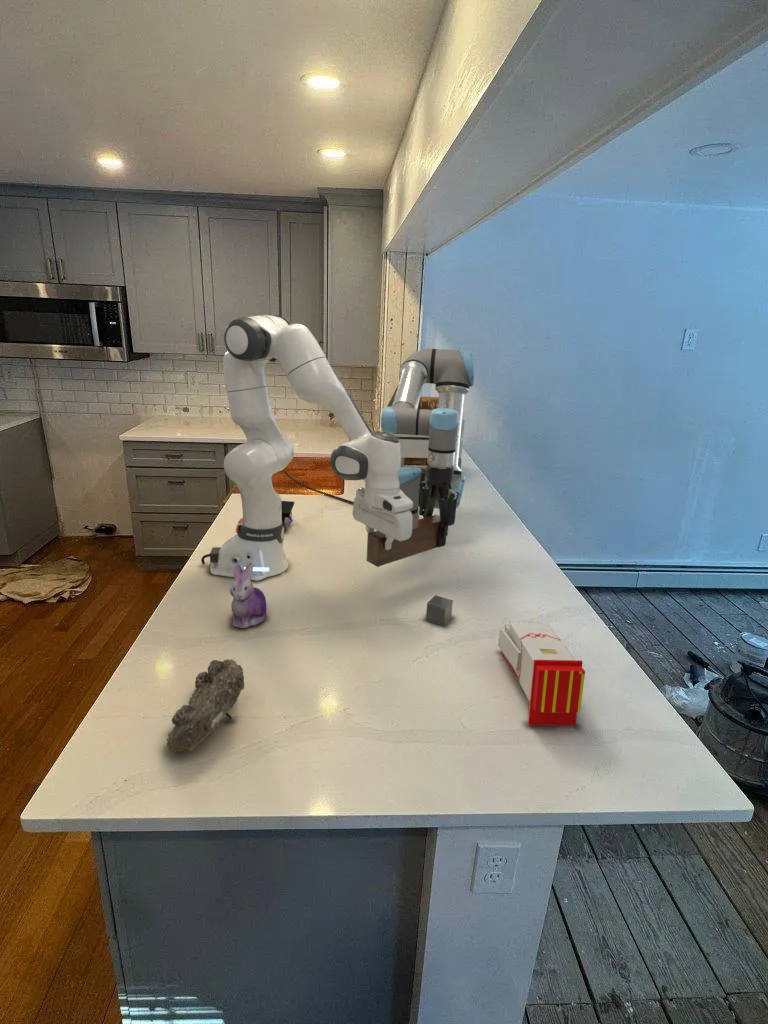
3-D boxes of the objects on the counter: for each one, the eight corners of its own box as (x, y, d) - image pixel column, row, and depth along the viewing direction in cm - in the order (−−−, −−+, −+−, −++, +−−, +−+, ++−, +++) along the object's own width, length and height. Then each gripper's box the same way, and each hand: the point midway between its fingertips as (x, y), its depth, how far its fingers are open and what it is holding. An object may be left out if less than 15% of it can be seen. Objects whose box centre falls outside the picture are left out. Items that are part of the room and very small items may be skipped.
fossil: (192, 660, 117) (244, 628, 112) (224, 691, 120) (276, 661, 115) (142, 746, 98) (202, 712, 93) (182, 779, 101) (242, 748, 96)
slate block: (425, 620, 145) (427, 602, 144) (433, 611, 149) (435, 594, 148) (443, 625, 143) (445, 608, 141) (451, 617, 147) (453, 600, 145)
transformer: (382, 463, 289) (386, 382, 275) (445, 464, 293) (451, 384, 279) (390, 482, 257) (394, 392, 243) (460, 483, 261) (468, 394, 247)
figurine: (235, 633, 135) (232, 576, 130) (225, 613, 144) (222, 559, 139) (273, 625, 139) (272, 570, 134) (262, 606, 148) (260, 553, 143)
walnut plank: (366, 561, 152) (367, 533, 149) (434, 539, 168) (436, 514, 165) (377, 567, 149) (378, 538, 146) (445, 544, 165) (448, 518, 162)
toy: (544, 607, 134) (594, 667, 105) (539, 659, 137) (586, 732, 108) (493, 606, 134) (529, 666, 105) (489, 658, 137) (523, 731, 107)
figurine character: (290, 537, 196) (295, 517, 209) (289, 518, 192) (295, 499, 206) (270, 536, 195) (277, 517, 209) (269, 517, 192) (276, 498, 206)
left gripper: (347, 487, 151) (346, 535, 156) (399, 508, 136) (396, 561, 141) (366, 483, 155) (364, 530, 159) (417, 504, 140) (414, 555, 145)
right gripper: (408, 460, 161) (404, 536, 169) (454, 475, 148) (447, 556, 156) (427, 456, 165) (422, 530, 173) (473, 470, 153) (465, 550, 161)
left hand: (379, 545), depth 150 cm, fingers closed on walnut plank, 4 cm apart
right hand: (434, 542), depth 165 cm, fingers closed on walnut plank, 4 cm apart
